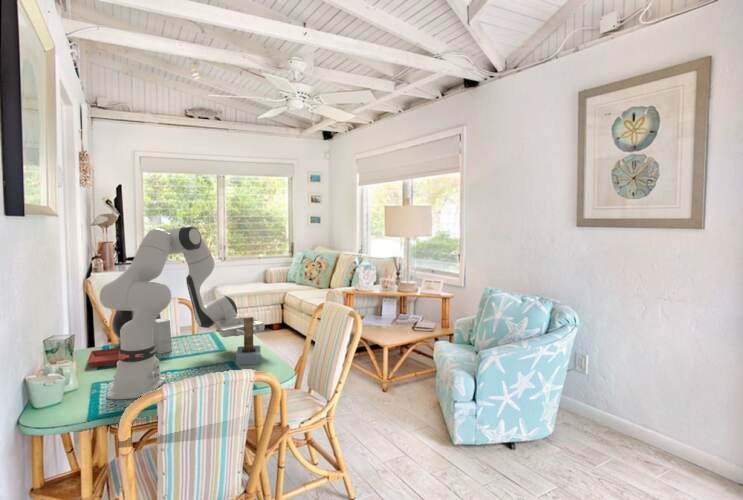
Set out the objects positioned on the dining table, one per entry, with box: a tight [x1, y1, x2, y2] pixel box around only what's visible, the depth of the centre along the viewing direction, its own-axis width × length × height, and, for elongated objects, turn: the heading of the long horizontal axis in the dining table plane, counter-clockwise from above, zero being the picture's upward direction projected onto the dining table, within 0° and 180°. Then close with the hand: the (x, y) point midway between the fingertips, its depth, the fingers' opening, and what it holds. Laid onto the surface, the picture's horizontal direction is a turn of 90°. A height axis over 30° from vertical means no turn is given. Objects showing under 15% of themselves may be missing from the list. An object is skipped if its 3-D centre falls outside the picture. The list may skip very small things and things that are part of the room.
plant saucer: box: [86, 347, 121, 368], centre depth 199 cm, size 18×18×3 cm
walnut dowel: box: [243, 316, 254, 353], centre depth 201 cm, size 4×4×16 cm
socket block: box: [235, 345, 261, 366], centre depth 202 cm, size 14×10×4 cm
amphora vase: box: [111, 310, 161, 347], centre depth 222 cm, size 22×22×28 cm
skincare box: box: [153, 317, 173, 354], centre depth 213 cm, size 8×6×15 cm
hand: (249, 332), depth 201 cm, fingers closed on walnut dowel, 4 cm apart
